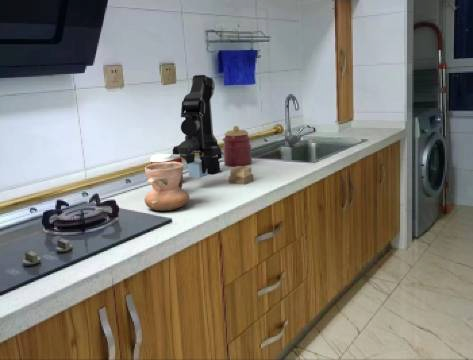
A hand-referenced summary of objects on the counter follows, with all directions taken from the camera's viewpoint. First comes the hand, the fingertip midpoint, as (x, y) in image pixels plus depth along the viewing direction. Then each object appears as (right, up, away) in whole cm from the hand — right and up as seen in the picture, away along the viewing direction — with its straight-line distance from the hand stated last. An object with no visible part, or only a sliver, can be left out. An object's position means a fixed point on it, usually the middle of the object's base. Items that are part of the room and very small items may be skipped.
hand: (198, 173), depth 185 cm
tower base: (+16, -4, +8) cm, 18 cm away
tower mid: (+16, -1, +7) cm, 18 cm away
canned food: (-11, -4, +12) cm, 16 cm away
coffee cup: (-11, -9, -9) cm, 17 cm away
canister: (+15, +5, +44) cm, 47 cm away
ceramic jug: (-8, -12, -22) cm, 26 cm away
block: (0, -1, 0) cm, 1 cm away
